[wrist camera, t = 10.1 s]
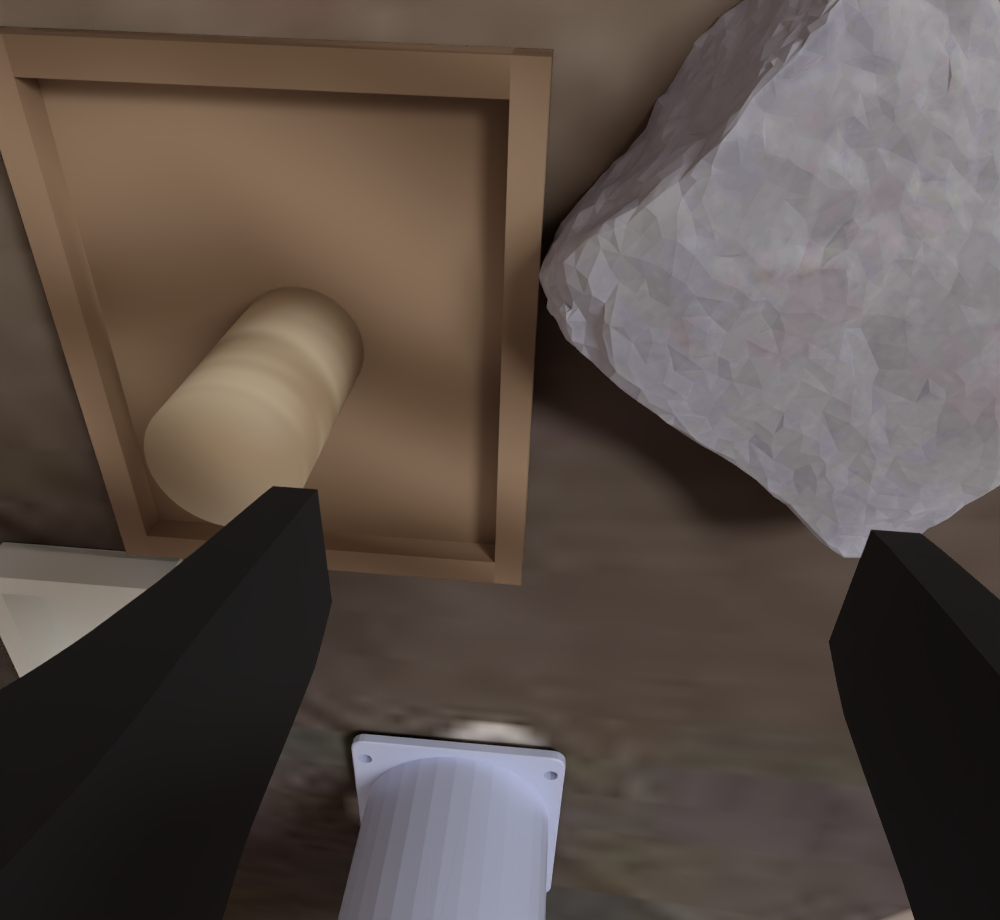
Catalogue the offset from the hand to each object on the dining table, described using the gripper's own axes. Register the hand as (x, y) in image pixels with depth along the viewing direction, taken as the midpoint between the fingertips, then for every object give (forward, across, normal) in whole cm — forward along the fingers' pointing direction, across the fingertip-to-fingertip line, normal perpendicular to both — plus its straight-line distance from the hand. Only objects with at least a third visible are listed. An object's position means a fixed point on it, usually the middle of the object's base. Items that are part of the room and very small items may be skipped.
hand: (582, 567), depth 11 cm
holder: (+10, +15, +13) cm, 22 cm away
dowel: (+10, +7, +2) cm, 12 cm away
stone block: (+11, -6, -1) cm, 13 cm away
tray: (+10, +7, +2) cm, 13 cm away
